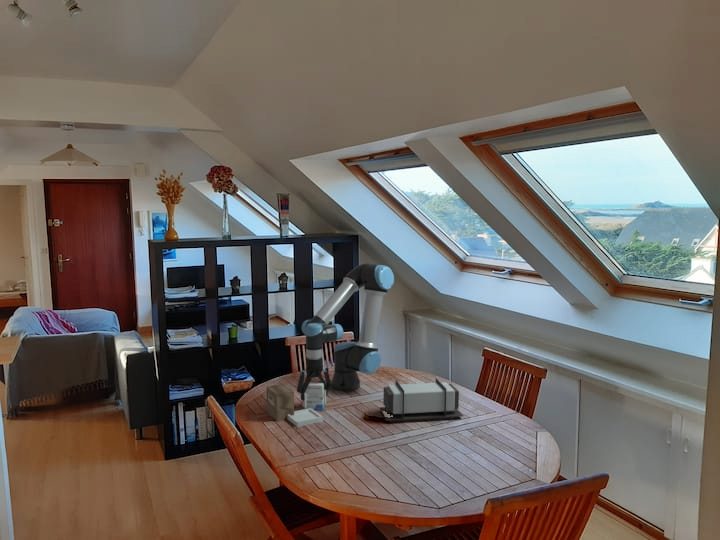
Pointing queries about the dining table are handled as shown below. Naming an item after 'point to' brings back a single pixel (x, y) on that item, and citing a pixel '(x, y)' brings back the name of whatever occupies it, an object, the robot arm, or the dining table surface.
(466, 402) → the dining table surface
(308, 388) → the ink box
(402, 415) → the strapped grey crate
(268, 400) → the block
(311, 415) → the tray
